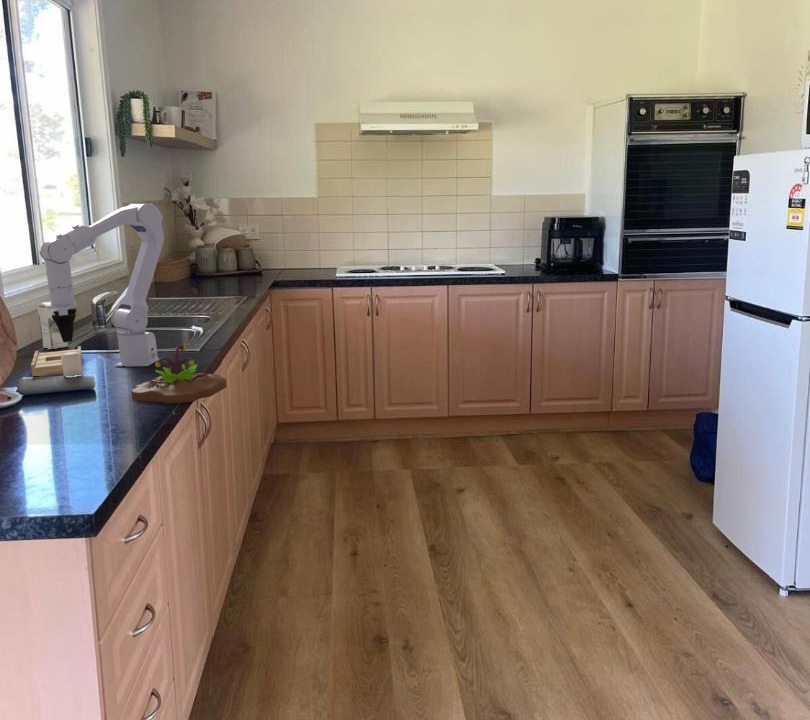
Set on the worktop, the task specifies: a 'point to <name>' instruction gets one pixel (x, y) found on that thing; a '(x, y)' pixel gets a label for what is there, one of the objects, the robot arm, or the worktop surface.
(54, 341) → the syrup box
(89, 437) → the worktop surface
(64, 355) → the cream small block
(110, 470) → the worktop surface
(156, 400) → the plant
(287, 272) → the worktop surface
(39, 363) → the jig plate
